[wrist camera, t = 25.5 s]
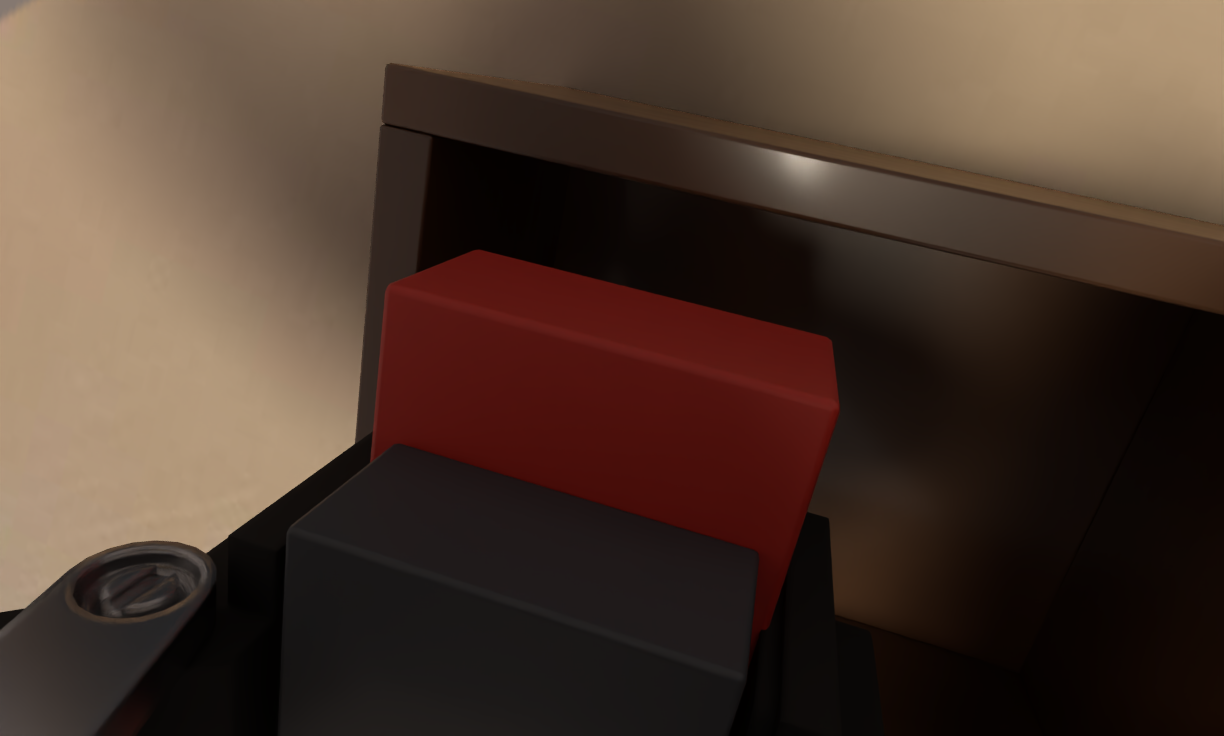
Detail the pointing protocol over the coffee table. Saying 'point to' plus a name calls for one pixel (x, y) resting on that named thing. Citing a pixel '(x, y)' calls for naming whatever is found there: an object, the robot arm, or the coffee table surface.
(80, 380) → the coffee table surface
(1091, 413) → the chest
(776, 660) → the robot arm
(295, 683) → the car
